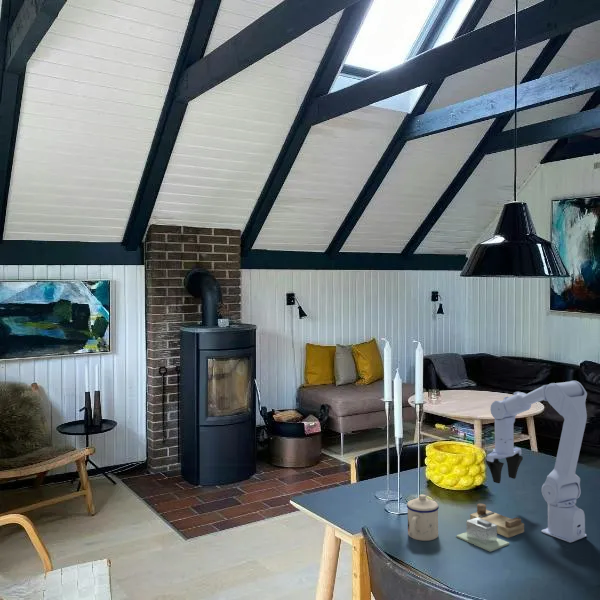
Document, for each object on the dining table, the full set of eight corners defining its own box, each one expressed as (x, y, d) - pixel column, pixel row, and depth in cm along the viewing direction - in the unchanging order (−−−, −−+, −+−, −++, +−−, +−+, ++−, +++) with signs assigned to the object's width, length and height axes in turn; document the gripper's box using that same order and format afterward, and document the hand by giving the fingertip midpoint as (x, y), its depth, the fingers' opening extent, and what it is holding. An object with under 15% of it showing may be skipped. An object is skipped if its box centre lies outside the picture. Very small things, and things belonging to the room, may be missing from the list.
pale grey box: (497, 540, 174) (496, 522, 174) (486, 544, 172) (485, 526, 172) (477, 532, 180) (477, 514, 180) (466, 536, 178) (466, 518, 177)
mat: (509, 544, 173) (509, 542, 173) (490, 551, 169) (490, 549, 169) (475, 530, 183) (475, 528, 183) (456, 537, 179) (456, 535, 179)
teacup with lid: (414, 526, 187) (413, 488, 186) (443, 532, 182) (443, 493, 181) (397, 541, 177) (397, 500, 176) (428, 548, 172) (427, 506, 171)
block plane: (524, 531, 181) (523, 515, 181) (508, 537, 177) (508, 520, 177) (485, 517, 193) (485, 501, 193) (470, 522, 189) (470, 506, 189)
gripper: (508, 432, 206) (508, 472, 206) (478, 438, 198) (479, 481, 198) (526, 436, 200) (527, 478, 200) (497, 443, 192) (497, 487, 192)
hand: (504, 480), depth 199 cm, fingers open, 7 cm apart
